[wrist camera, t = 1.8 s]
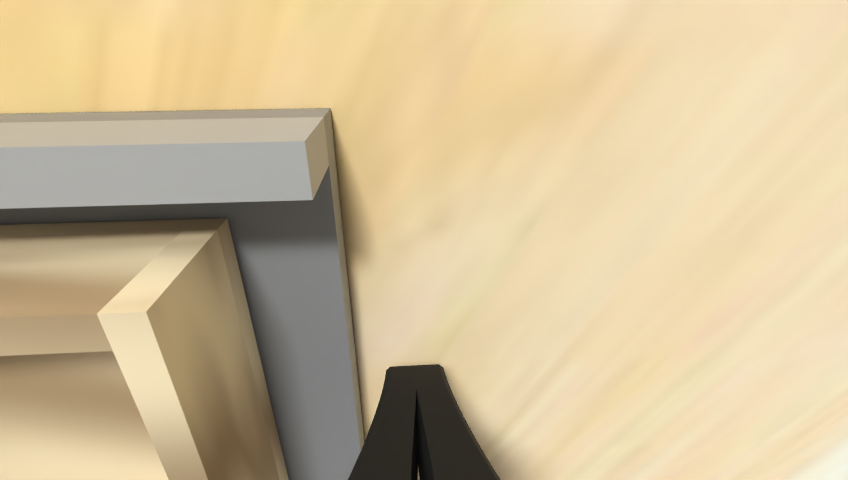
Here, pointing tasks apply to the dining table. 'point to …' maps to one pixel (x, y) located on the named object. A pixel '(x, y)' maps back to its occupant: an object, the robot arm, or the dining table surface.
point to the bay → (250, 229)
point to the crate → (130, 355)
